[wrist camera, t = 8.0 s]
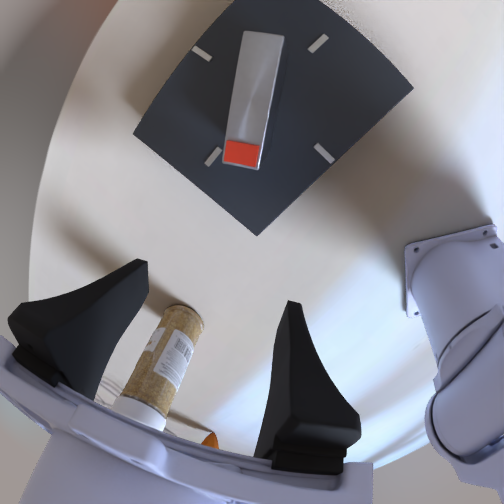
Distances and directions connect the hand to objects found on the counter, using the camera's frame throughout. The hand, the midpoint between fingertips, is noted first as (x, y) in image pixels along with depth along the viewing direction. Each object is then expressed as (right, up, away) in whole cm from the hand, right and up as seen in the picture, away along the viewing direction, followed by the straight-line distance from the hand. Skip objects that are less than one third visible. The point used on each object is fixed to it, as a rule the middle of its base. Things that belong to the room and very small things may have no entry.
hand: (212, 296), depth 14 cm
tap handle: (+2, +11, 0) cm, 11 cm away
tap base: (+3, +12, +3) cm, 13 cm away
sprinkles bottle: (-5, -5, +15) cm, 17 cm away
